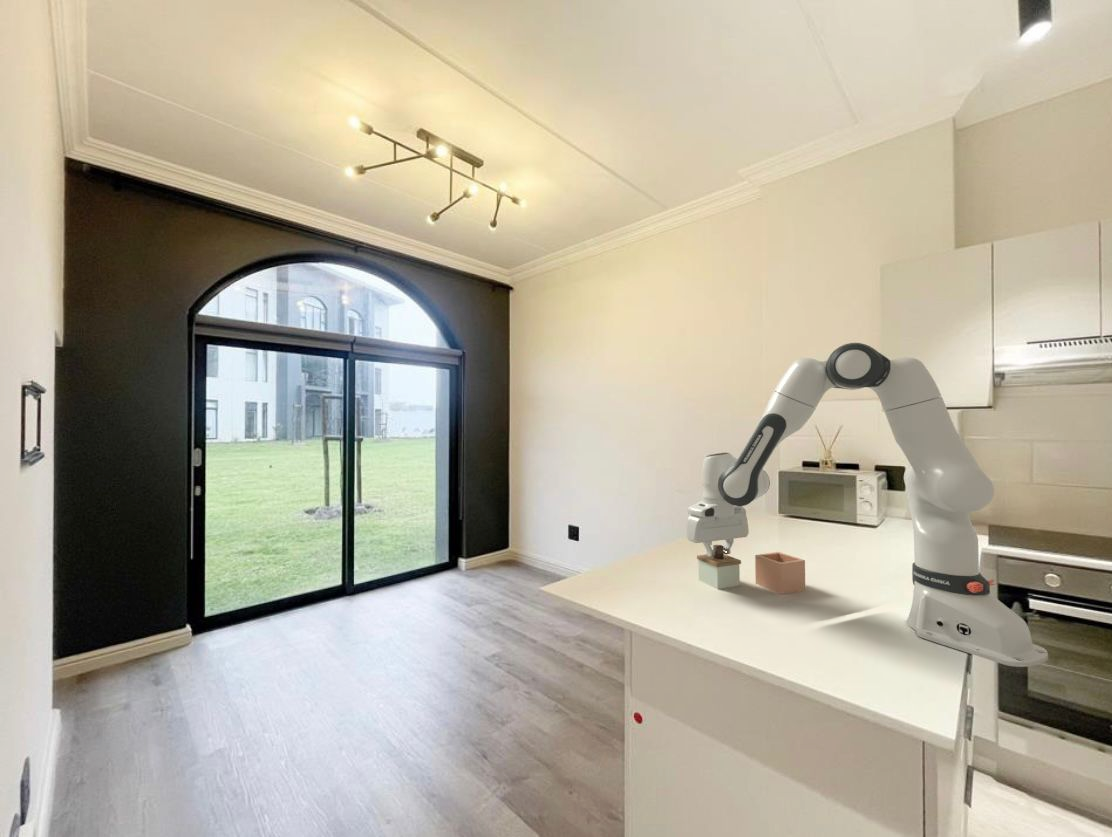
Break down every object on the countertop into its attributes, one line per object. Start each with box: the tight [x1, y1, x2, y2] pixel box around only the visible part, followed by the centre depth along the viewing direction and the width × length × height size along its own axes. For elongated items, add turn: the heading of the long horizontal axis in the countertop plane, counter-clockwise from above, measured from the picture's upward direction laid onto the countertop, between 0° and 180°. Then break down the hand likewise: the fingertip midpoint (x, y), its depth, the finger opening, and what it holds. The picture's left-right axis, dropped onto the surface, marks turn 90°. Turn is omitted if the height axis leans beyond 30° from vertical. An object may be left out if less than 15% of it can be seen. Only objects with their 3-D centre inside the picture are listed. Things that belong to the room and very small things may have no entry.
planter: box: [754, 551, 806, 595], centre depth 126 cm, size 9×9×9 cm
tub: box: [698, 560, 741, 590], centre depth 129 cm, size 8×8×7 cm
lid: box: [696, 544, 742, 567], centre depth 129 cm, size 9×9×4 cm
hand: (718, 554), depth 129 cm, fingers open, 4 cm apart
